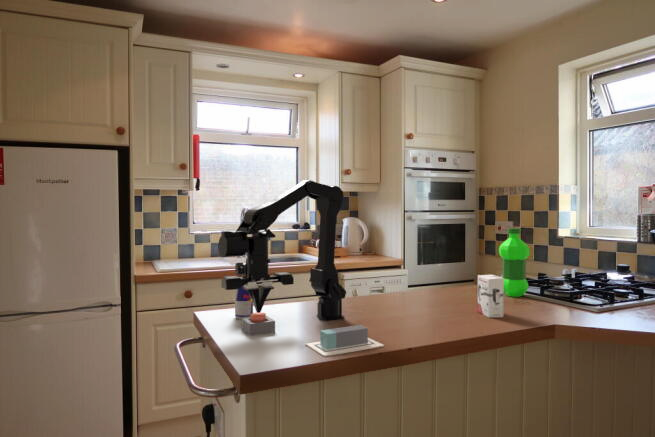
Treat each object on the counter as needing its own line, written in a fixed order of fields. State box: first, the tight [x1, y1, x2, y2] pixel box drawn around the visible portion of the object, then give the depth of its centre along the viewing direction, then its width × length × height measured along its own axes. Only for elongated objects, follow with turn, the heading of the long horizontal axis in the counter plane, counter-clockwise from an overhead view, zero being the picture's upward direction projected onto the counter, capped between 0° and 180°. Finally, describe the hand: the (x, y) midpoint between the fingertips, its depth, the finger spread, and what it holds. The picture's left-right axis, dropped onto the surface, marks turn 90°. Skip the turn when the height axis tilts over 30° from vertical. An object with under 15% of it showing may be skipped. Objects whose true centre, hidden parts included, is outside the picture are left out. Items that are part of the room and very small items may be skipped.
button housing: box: [241, 315, 276, 336], centre depth 124 cm, size 7×7×3 cm
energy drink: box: [234, 276, 254, 320], centre depth 140 cm, size 5×5×12 cm
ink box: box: [477, 274, 505, 318], centre depth 141 cm, size 9×5×12 cm, turn 5°
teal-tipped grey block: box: [319, 324, 369, 350], centre depth 110 cm, size 11×4×4 cm, turn 117°
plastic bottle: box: [498, 227, 530, 298], centre depth 171 cm, size 10×10×25 cm
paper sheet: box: [305, 337, 385, 357], centre depth 110 cm, size 16×10×1 cm, turn 117°
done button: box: [251, 312, 267, 322], centre depth 124 cm, size 4×4×2 cm
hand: (258, 312), depth 124 cm, fingers closed
